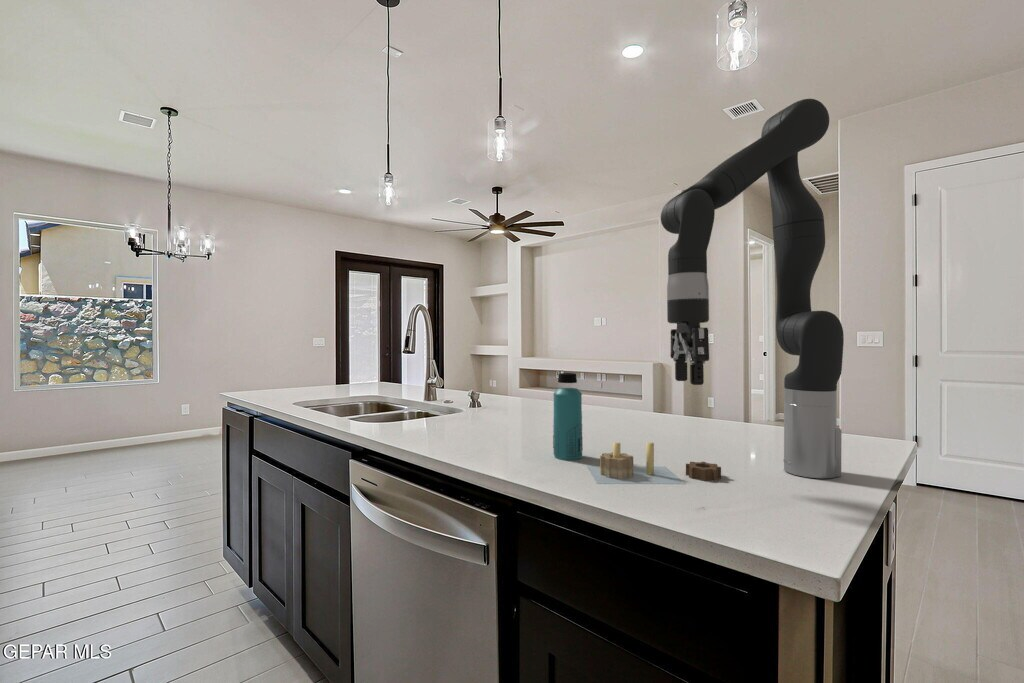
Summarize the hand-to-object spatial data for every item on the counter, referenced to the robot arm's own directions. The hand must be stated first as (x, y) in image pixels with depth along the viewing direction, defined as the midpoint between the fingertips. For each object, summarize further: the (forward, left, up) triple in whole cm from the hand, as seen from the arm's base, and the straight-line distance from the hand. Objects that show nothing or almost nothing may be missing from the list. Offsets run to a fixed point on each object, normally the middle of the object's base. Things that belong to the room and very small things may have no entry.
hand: (688, 382), depth 93 cm
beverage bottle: (+22, -14, -19) cm, 32 cm away
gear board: (+11, 0, -19) cm, 22 cm away
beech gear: (+14, 0, -18) cm, 22 cm away
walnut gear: (-2, +1, -19) cm, 19 cm away
